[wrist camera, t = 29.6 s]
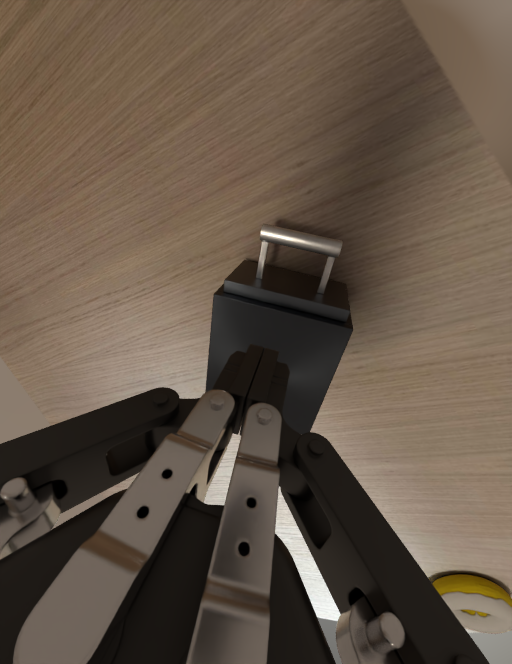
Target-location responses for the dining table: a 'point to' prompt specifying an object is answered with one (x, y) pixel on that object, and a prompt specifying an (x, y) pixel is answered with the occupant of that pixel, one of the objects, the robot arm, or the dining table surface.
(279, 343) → the cabinet
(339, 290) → the drawer
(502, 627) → the donut
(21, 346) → the dining table surface
